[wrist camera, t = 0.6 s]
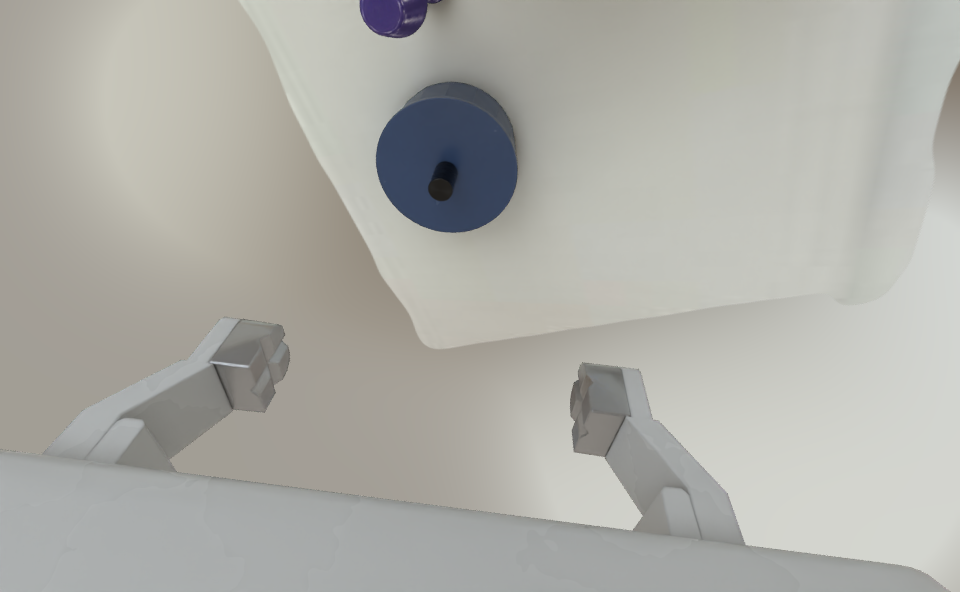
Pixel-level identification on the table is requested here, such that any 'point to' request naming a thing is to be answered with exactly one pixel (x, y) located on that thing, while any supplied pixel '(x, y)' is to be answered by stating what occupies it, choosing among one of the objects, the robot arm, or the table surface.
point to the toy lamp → (394, 16)
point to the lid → (446, 164)
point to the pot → (469, 95)
